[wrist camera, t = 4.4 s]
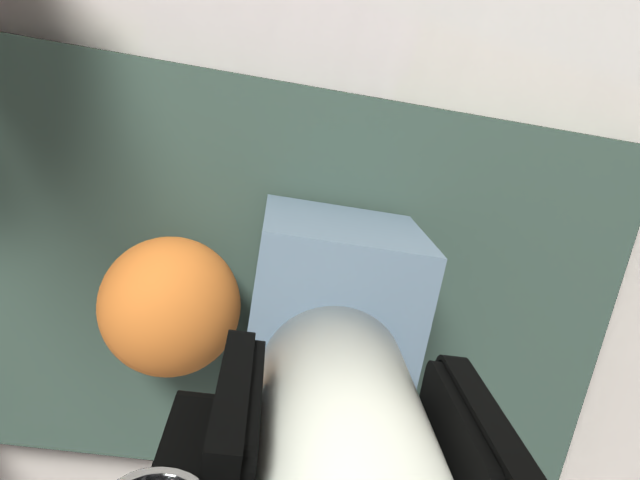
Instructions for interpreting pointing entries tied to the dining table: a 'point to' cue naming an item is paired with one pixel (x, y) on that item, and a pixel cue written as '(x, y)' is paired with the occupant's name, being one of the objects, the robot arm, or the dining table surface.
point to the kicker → (344, 343)
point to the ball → (167, 306)
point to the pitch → (247, 223)
